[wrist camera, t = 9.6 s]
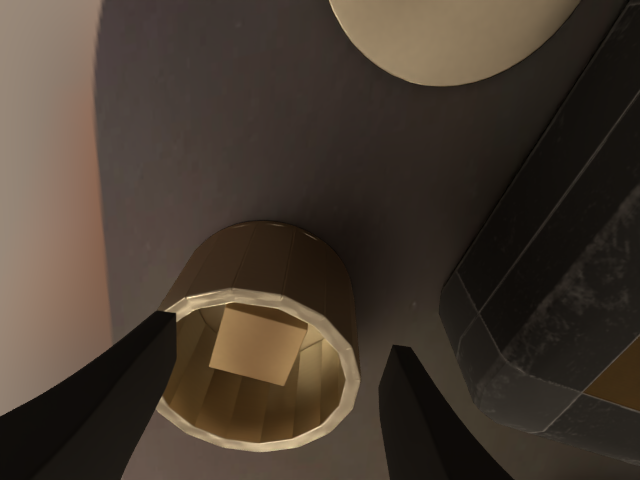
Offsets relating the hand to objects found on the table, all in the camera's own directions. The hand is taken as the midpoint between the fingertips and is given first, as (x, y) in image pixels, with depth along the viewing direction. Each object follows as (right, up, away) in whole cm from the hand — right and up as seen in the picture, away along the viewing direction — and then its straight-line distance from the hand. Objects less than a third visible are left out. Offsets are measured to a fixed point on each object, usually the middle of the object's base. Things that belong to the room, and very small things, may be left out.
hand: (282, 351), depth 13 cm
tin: (-2, 0, +10) cm, 10 cm away
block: (-2, 0, +10) cm, 10 cm away
